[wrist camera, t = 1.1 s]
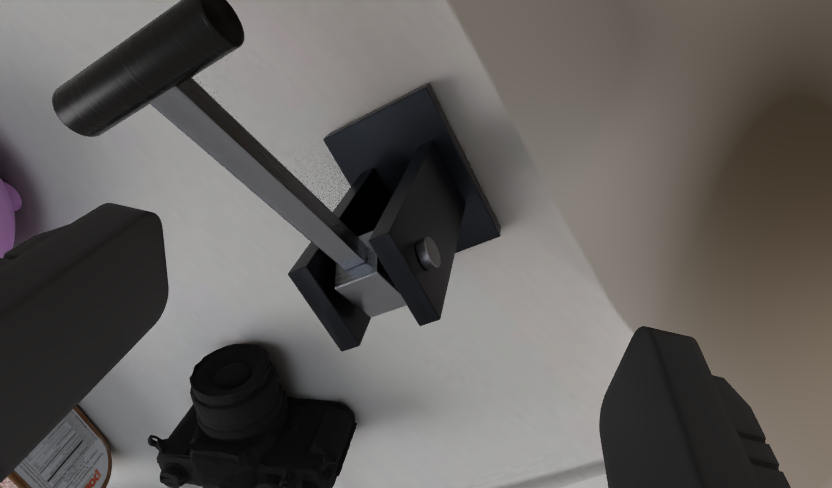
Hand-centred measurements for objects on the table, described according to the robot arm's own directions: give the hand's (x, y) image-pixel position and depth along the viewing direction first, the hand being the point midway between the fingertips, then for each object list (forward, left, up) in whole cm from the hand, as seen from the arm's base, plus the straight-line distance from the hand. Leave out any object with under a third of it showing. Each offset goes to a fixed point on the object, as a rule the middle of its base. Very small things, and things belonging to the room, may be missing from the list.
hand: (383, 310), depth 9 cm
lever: (+6, -1, -11) cm, 13 cm away
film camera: (+27, +16, -24) cm, 39 cm away
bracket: (+7, +5, -23) cm, 25 cm away
